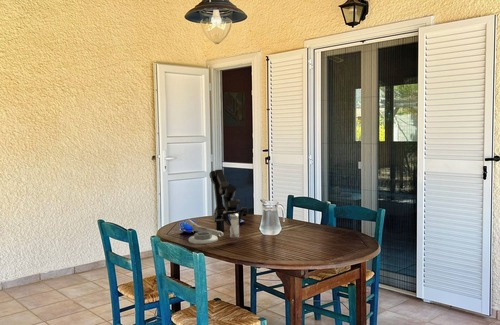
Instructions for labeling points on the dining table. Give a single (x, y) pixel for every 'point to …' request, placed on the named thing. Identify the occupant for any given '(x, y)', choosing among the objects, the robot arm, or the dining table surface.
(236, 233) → the piston
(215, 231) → the wrench
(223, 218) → the robot arm
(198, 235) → the white and grey disc
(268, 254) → the dining table surface
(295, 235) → the dining table surface
